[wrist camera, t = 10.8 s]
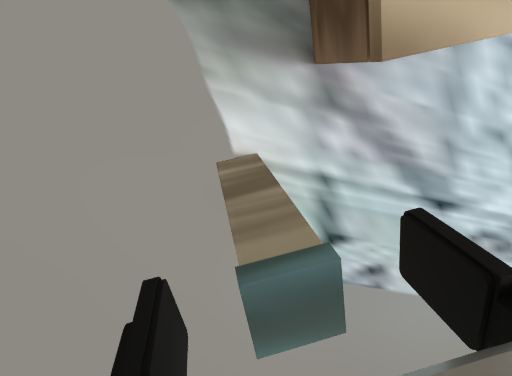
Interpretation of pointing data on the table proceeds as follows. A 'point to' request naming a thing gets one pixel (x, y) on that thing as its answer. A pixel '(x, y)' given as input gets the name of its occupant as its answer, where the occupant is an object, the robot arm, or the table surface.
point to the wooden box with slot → (340, 31)
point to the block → (279, 262)
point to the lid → (433, 25)
